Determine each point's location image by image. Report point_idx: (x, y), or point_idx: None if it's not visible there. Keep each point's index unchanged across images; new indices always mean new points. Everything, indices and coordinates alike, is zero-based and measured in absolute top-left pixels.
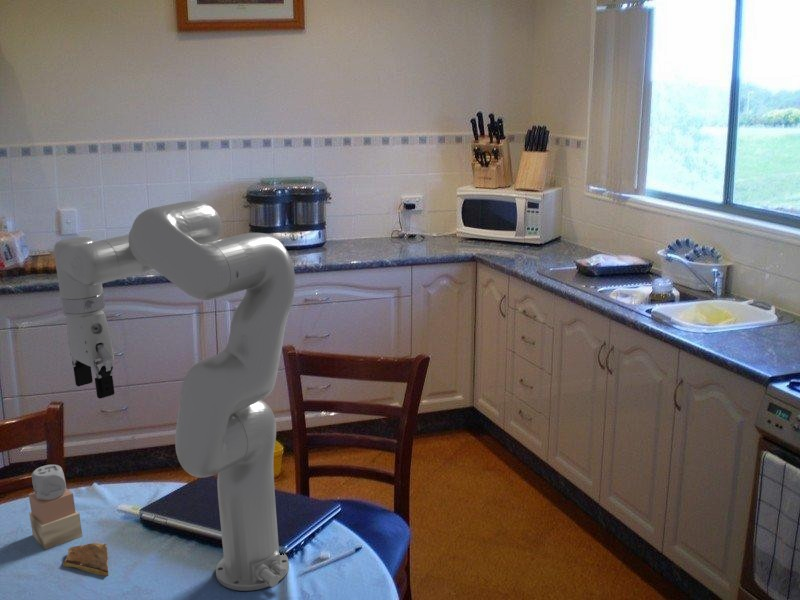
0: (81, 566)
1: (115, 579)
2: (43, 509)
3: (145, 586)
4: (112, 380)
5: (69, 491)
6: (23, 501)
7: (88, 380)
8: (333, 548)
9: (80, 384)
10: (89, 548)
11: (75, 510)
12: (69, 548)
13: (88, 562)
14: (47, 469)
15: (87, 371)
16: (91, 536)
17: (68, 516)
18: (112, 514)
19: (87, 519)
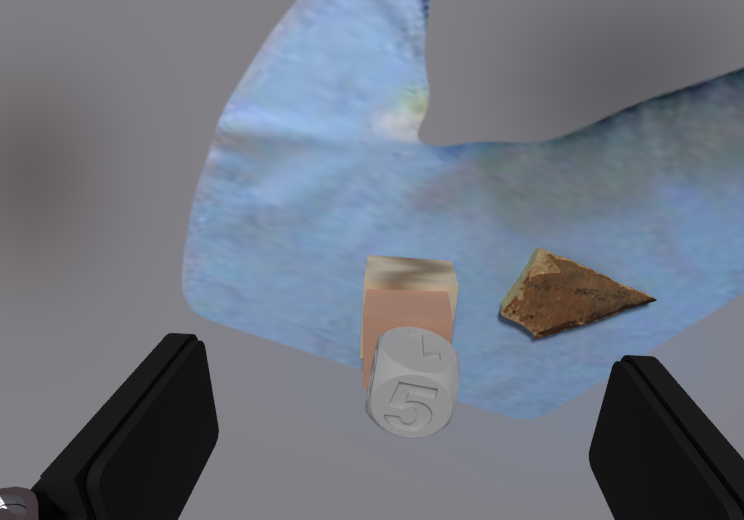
0: (585, 323)
1: (672, 289)
2: None
3: None
4: (736, 458)
5: (433, 320)
6: (193, 283)
7: (196, 380)
8: None
9: (213, 427)
10: (543, 289)
11: (435, 286)
12: (503, 314)
13: (589, 311)
14: (396, 397)
15: (149, 444)
16: (468, 248)
17: (451, 309)
18: (408, 166)
19: (386, 220)
